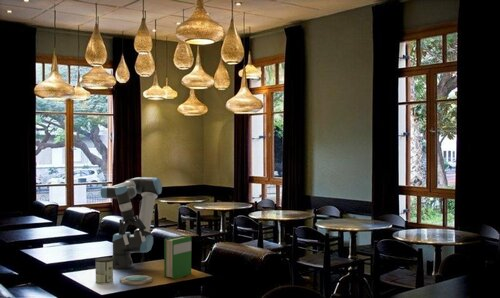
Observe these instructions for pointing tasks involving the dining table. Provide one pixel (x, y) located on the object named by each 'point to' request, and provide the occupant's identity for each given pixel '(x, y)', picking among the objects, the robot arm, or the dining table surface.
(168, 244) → the hardback book
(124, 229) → the robot arm
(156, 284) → the dining table surface
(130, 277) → the hub plate
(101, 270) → the coffee can
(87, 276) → the dining table surface
